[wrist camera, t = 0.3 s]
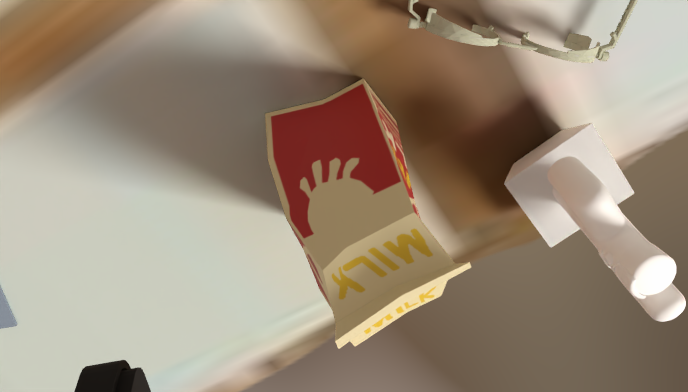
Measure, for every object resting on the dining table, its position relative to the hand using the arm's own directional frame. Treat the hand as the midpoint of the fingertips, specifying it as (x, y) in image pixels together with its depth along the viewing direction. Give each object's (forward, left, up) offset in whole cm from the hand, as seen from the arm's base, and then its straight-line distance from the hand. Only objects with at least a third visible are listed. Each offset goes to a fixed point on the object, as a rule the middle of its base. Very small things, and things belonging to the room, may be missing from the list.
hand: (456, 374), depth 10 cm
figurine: (+17, +17, -36) cm, 44 cm away
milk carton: (+13, +1, -36) cm, 39 cm away
